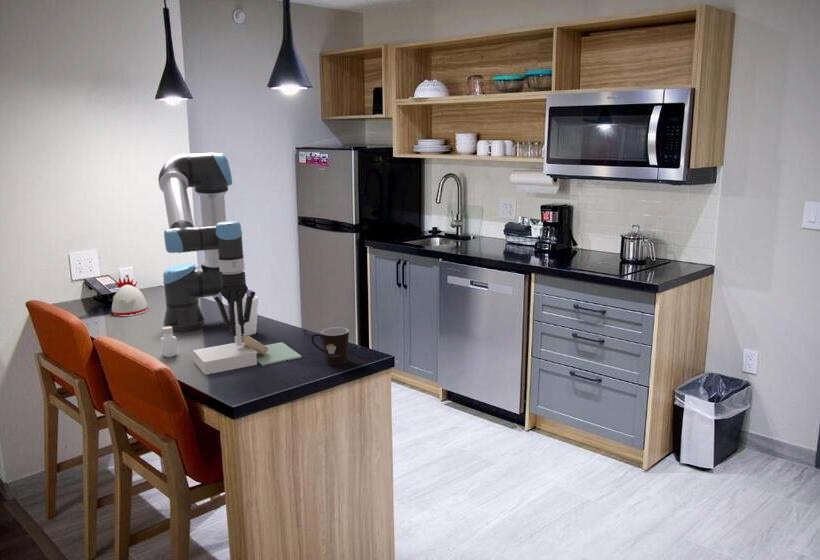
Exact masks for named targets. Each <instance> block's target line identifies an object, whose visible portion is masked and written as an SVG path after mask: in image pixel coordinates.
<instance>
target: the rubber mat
mask: <svg viewBox="0 0 820 560" xmlns="http://www.w3.org/2000/svg"><path fill="white" fill-rule="evenodd" d="M263 345H264V344H263ZM264 346H266V347H267V348H268V350H267V352H266V354H265V355H262V354H260V353H259V352H257V351H255V350H254V351H255V352H256V357H257V363H259V364H260V366H262V367H263V366H268V365H272V364H273V365H274V364H278V363H283V362H287V360H288V361H292V360H298V359H302V355H301V354H300V353H298V352H296V350H294V349H292V348H291V347H289V346H288V345H287V344H285V343H284V342H276V343H270V344H265V345H264ZM251 349H252V348H251ZM282 361H283V362H282ZM277 362H278V363H277Z"/></svg>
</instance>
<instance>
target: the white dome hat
mask: <svg viewBox="0 0 820 560" xmlns="http://www.w3.org/2000/svg"><path fill="white" fill-rule="evenodd" d="M133 282H134V278H132V279H131V281H130V277H129V276H127V279H126V277H123V282H122V280H121V278H120V277H119V278H118V281H116V280H115V284H116V285H117V287H118V289H117V291H116V292H115V294H114V295H113V296H112V304H111V314H112V313H113V314H116V315H130V314H136V313H139V312H142V311H145V310H146V309H148V310H149V305H148V303H147V300H146V298H145V296H144V294H143V292H142V291H141V290H140V289H139V288H138V287H136V286H137V283H138V281H135V283H133Z"/></svg>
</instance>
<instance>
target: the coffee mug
mask: <svg viewBox="0 0 820 560" xmlns="http://www.w3.org/2000/svg"><path fill="white" fill-rule="evenodd" d="M349 331H350V330H349V329H348V328H346V327H340V326H339V327H338V326H337V327H328V328H325V329H322V330H321V331H320V334H319V333H314V334H313V335H312V336H311V339H310V341H311V343H312V345H313V346H314V347H315V348H317V349H318V350H319V351H321V352H322V353H324V357H325V358H324V359H325V362H326V365H328V366H332V365H333V366H336V365H337V366H342V364H343V365H344V364H347V362H348V353H349V352H348V351H349V337H350V336H349V334H350V333H349ZM315 337H320V339H321V340H322V347H323V348H321V347H320V346H318V345H317V344H316V343H315V340H314V338H315Z"/></svg>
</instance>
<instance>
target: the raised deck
mask: <svg viewBox="0 0 820 560" xmlns="http://www.w3.org/2000/svg"><path fill="white" fill-rule="evenodd" d="M192 352H193V353H192V354H193V363H194V364H195V365H196V366H197V367H198V368H199V369H200V371H201V372H202V373H203V374H204V375H205V376H207V375H211V373H212V374H217V373H221V372H227V371H233V370H237V369H241V368H242V369H243V368H247V367H251V366H257V365H258V362H257V357H256V352H255V351H254V350H253V349H251V348H250V347H248V346H247V345H245V344H244V343H242V346H237V345H236V344H235V342H233V343H232V342H231V343H226V344H221V345H215V346H208V347H203V348H199V349H193V350H192ZM206 374H207V375H206Z"/></svg>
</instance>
